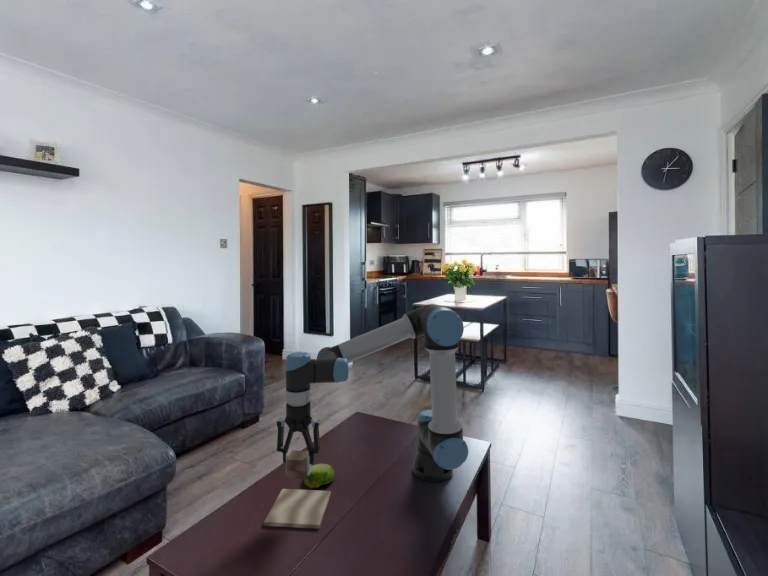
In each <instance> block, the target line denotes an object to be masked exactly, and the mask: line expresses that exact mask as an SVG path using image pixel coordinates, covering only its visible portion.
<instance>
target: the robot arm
mask: <svg viewBox="0 0 768 576" xmlns="http://www.w3.org/2000/svg"><path fill="white" fill-rule="evenodd" d="M464 326H465V325H464V322H463V320H462V317H461V316H460V315H459V314H458V313H457V312H456V311H454V310H453V309H451V308H450V307H445V306H442V305H439V304H435V303H430V304H425V305H423V306H420V307H417V308H415V309H413V310H411V311H409V312H407V313H404V314H403V316H402V317H401V318H399V319H397V320H394V321H392V322H390V323H386V324H384V325H382V326H380V327H377V328H375V329H373V330H370V331H367V332H365V333H363V334H360V335H358V336H355V337H352V338H350V339H348V340H345V341H344V342H341V343H339V344H336V345H333V346H326V347H322V348H321V349H320V350H319V351H318V352H317V355H316V358H311V354H310V353H308V352H302V351H298V352H291V353H289V354H288V355H287V356H286V358H285V403H286V405H285V412H286V413H285V414H286V415H285V418H279V419H278V420H277V421H276V428H277V439H276V451H277V452H278V453H282V462H283V464H285V475H287V465H286V460H287V458H288V457H289V455H290V454H291V452H292V450H290V445H291V442H292V439H293V435H294V433H296V432H299V433H301V434H302V435H301V436H303V439H304V442H305V446H306V448H307V451H308V454H307V475H310V473H311V466H312V465H314V462H315V454H319V452H320V449H321V440H320V428H319V427H320V424H321V420H320V419H316V420H315V419H313V418H312V416H311V402H310V401H311V384H325V383H337V384H338V383H341V382H342V383H343V382H346V381H348V379H349V364H350V363H352V362H355V361H357V360H360V359H362V358H364V357H367V356H369V355H371V354H374V353H377V352H378V351H381V350H383V349H386V348H388V347H390V346H393V345H395V344H397V343H400V342H402V341H405V340H407V339H417V338H420V337H423V344H424V345H423V347H424V349H425V350H426V351H427V353H429V355H428V356H429V357H428V358H429V375H430V376H429V377H430V378H429V379H430V396H431V397H430V398H431V409H426V410H421V411H420V412H419V413H418V416H417V450H416V454H415V456H414V460H413V463H412V472H413V474H414V476H416V477H417V478H419V479H420V480H423V481H425V482H431V483H439V482H441V483H442V482H445V481H447V480H450V478H451V477H452V476H453V473H454V470H455V469H458V468H460V467H461V466H463V465H462V464H463V463H465V462H466V461H467V459H468V456H469V447H468V445H467V442H466V441H465V440H464V430H463V423H462V422H461V421H460V420H458V399H457V398H458V397H457V396H458V395H457V394H458V393H457V371H456V351H457V350H458V349H460V340H461V339H462V337H463V334H464V331H465V330H464ZM285 425H287V427H288V432H287V436H286V439H285V442H284V438H285V437H284V436H285ZM310 425H311V426H312V428H313V430H312V431H313V432H312V433H313V439H312V437H311V434H310V428H309V427H310Z"/></svg>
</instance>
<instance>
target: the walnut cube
mask: <svg viewBox="0 0 768 576" xmlns="http://www.w3.org/2000/svg"><path fill="white" fill-rule="evenodd" d="M307 454H308V450H291V454H290V455H289V457H288V458H287V460H286V463H285V466H286V465H287V474H286V479H293V480H294V479H295V480H297V479H298V480H304V479H306V477H307Z"/></svg>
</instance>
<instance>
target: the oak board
mask: <svg viewBox="0 0 768 576" xmlns="http://www.w3.org/2000/svg"><path fill="white" fill-rule="evenodd" d="M331 496H332V491H331V490H316V489H315V490H314V489H295V488H292V489H291V488H282V489H281V490H280V492H279V494H278V495H277V498H276V499H275V501H274V503H273V505H272V507H271V508H270V510H269V512H268V513H267V515H266V517H265V519H264V520H263V526H264V527H278V528H279V527H281V528H298V529H299V528H300V529H317V530H318V529H320V528H321V525H322V522H323V519H324V516H325V513H326V510H327V508H328V506H329V503H330V502H329V501H330V499H331Z"/></svg>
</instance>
